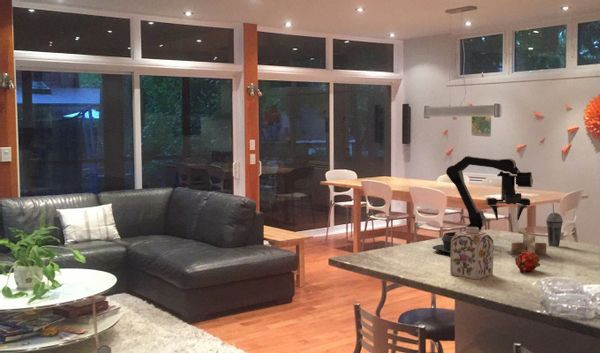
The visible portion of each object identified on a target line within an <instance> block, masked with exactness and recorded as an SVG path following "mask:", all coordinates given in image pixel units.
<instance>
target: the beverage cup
mask: <svg viewBox="0 0 600 353" xmlns="http://www.w3.org/2000/svg"><path fill="white" fill-rule="evenodd" d="M551 205H552V212H551V213H550V214H548V215H547V217H546V220H545V222H546V227H547V241H548V242H547V243H548V247H558V248H559V247H560V244H561V233H562V227H563V223H564V220H563V217H562V216H561V214H559V213H557V212H555V205H554V203H552V204H551Z"/></svg>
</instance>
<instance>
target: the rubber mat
mask: <svg viewBox="0 0 600 353" xmlns="http://www.w3.org/2000/svg"><path fill="white" fill-rule="evenodd" d="M506 253H507V254H508V255H509V256H511V257H512V258H514V259H516V257H517V256H518V255H512V254H511V250H509V251H506ZM538 256H539V259H553V257H552V256H550V255H549V254H547V253H546V255H538Z"/></svg>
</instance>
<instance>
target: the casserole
mask: <svg viewBox="0 0 600 353" xmlns="http://www.w3.org/2000/svg"><path fill="white" fill-rule="evenodd" d="M457 232H458V231H452V232H445V233H443V236H442V237H441V238H440V239H441V241H442V244H436V245H434V246H432V249H433V250H435V251H440V252H444V253H447V254H449V255H451V240H452V238H453V236H454V235H455V234H456V233H457Z"/></svg>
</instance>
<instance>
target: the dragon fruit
mask: <svg viewBox="0 0 600 353" xmlns="http://www.w3.org/2000/svg"><path fill="white" fill-rule="evenodd" d="M514 259H515V260H514V262H515V265H516V267H517V268H518V269H519V272H520V273H526V272H528V271H529V272H531V273H533V272H534V271H536V268H538V267H541V264H540V263H539V262H540V259H541V258H539V256H538V255H537V254H535V252H528V250H525V252H522V253H519V254H518V256H517V257H516V258H514Z"/></svg>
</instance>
